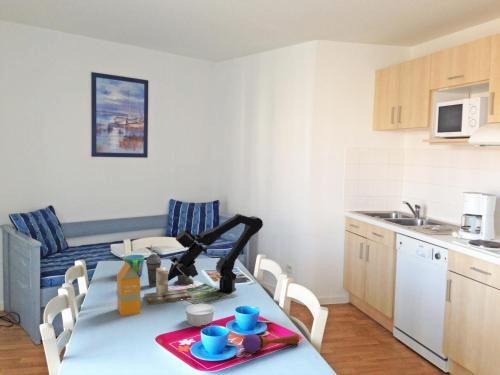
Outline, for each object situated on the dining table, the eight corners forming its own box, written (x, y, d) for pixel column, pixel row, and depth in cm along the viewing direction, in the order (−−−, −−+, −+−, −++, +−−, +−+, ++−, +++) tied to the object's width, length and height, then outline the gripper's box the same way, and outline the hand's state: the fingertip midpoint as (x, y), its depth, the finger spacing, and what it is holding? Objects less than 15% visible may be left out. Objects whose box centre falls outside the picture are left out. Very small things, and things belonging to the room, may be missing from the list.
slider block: (165, 291, 194) (165, 267, 193) (168, 296, 186) (168, 271, 185) (156, 292, 192) (156, 268, 191) (159, 298, 185) (159, 272, 184)
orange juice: (121, 316, 169) (120, 267, 168) (117, 309, 177) (116, 261, 176) (140, 313, 173) (140, 264, 171) (136, 306, 181) (135, 259, 179)
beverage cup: (157, 288, 204) (157, 247, 202) (143, 287, 206) (143, 246, 204) (163, 283, 211) (163, 244, 210) (150, 282, 213) (149, 243, 211)
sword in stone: (193, 280, 218) (193, 257, 217) (194, 285, 211) (194, 262, 209) (173, 281, 216) (173, 258, 215) (174, 286, 209) (174, 263, 207)
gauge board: (185, 292, 200) (185, 288, 199) (191, 298, 190) (191, 294, 190) (144, 297, 192) (144, 292, 192) (148, 304, 183) (148, 300, 183)
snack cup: (125, 272, 231) (124, 253, 230) (145, 271, 234) (145, 252, 233) (123, 280, 216) (122, 260, 215) (144, 279, 218) (144, 259, 217)
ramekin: (202, 330, 157) (202, 316, 157) (179, 323, 163) (179, 310, 163) (220, 320, 167) (220, 307, 166) (197, 314, 173) (197, 301, 172)
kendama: (302, 336, 144) (248, 341, 136) (299, 351, 146) (245, 357, 138) (294, 326, 150) (241, 330, 142) (291, 341, 151) (238, 346, 143)
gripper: (209, 270, 188) (184, 298, 185) (197, 260, 205) (174, 285, 202) (192, 254, 184) (166, 282, 181) (181, 245, 201) (158, 270, 198)
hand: (167, 280), depth 191 cm, fingers closed, pressing on slider block
